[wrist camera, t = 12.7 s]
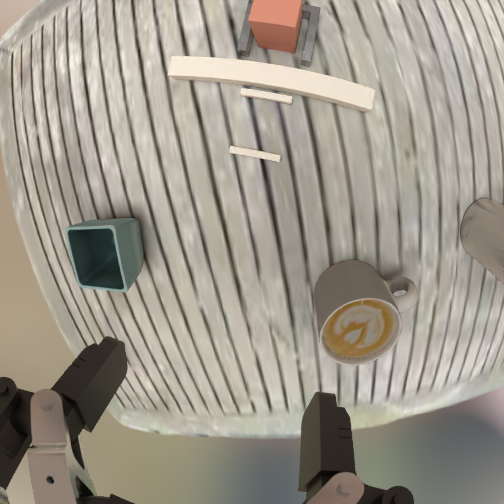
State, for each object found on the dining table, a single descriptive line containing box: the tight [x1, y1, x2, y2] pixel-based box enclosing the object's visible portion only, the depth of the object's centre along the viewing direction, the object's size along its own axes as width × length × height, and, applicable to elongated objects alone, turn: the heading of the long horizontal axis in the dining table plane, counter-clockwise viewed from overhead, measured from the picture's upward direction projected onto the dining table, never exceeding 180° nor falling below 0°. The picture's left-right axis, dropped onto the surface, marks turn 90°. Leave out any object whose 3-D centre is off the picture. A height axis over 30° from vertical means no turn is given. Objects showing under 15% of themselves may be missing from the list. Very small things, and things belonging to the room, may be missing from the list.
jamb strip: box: [168, 56, 375, 162], centre depth 30 cm, size 24×11×3 cm, turn 80°
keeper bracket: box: [237, 0, 320, 66], centre depth 26 cm, size 8×8×2 cm
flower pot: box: [65, 218, 143, 292], centre depth 36 cm, size 9×9×9 cm
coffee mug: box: [315, 260, 418, 366], centre depth 34 cm, size 13×10×10 cm
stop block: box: [248, 0, 303, 53], centre depth 23 cm, size 4×4×9 cm
